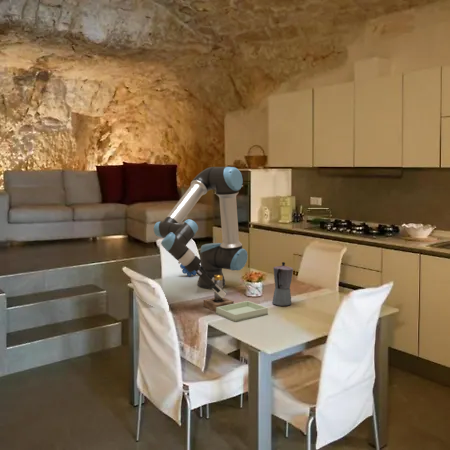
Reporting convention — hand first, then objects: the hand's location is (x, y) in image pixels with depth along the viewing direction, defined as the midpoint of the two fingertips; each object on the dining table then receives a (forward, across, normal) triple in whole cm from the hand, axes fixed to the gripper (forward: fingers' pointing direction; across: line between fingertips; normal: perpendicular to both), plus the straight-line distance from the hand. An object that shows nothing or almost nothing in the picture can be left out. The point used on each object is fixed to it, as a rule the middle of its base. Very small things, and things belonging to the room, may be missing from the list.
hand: (222, 292), depth 229 cm
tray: (+10, +12, 0) cm, 16 cm away
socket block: (+4, 0, -6) cm, 7 cm away
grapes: (-4, -64, -14) cm, 66 cm away
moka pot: (+25, -2, +15) cm, 29 cm away
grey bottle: (+4, 0, -6) cm, 7 cm away
